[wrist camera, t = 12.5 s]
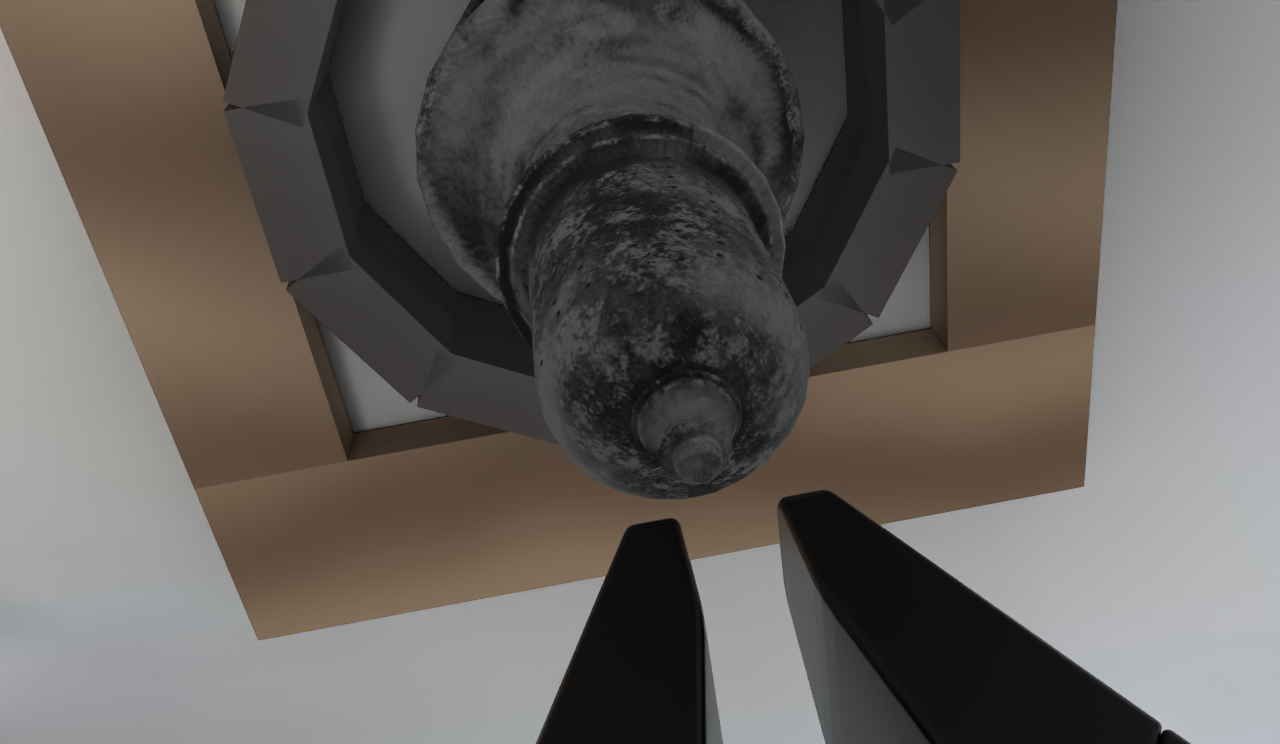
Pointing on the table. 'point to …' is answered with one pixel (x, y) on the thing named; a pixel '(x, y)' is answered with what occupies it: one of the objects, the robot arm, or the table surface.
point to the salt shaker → (629, 224)
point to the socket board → (492, 346)
